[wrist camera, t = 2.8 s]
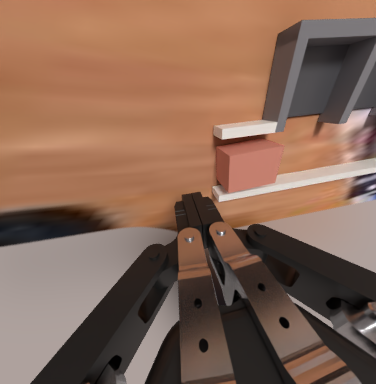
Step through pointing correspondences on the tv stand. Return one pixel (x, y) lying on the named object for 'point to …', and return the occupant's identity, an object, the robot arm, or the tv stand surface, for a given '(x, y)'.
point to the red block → (248, 164)
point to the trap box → (314, 92)
